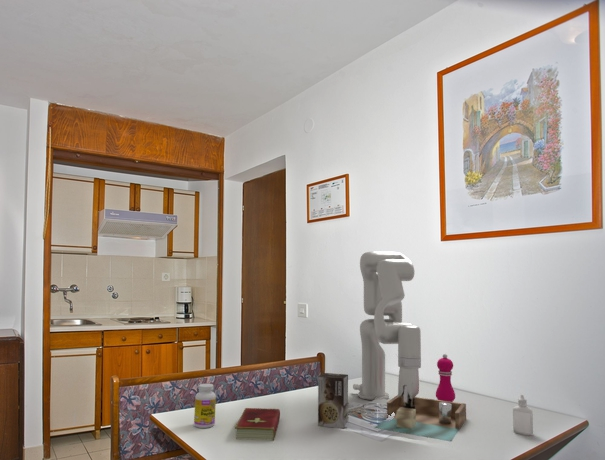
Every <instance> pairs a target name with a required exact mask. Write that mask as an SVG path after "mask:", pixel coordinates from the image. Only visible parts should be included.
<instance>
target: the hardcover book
mask: <svg viewBox="0 0 605 460" xmlns="http://www.w3.org/2000/svg"><path fill="white" fill-rule="evenodd" d="M280 419H281V409H280V408H266V407H265V408H261V407H260V408H259V407H256V408H255V407H245V408H244V410H243V412H242V413H241V416H240V417H239V419H238V421H237V422H236V425H235V426H234V429H235V439H236V440H252V441H253V440H257V441H258V440H259V441H262V440H263V441H275V439H276V435H277V431H278V427H279V422H280Z"/></svg>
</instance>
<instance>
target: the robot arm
mask: <svg viewBox="0 0 605 460" xmlns="http://www.w3.org/2000/svg"><path fill="white" fill-rule="evenodd" d="M412 262H413V261H411V260H410V259H409V258H408V257H407V256H405V255H404V254H403V253H401V252H397V251H367V252H364V253H363V254H361V257H360V259H359V269H360V270H359V271H360V274H361V276H362V281H363V309H364V310H363V311H364V313H365V314H366V315H368V316H373V318H367V319H364V320H363V321H361V323H360V325H359V335H360V340H361V341H360V343H361V384H358V383H354V384H352V389H353V390H354V391H355V390H356V391H359V392H358V393H357V396H358V397H359V398H360V399H363V400H367V401H368V400H369V401H374V400H376V399H381V400H388V399H389V398H390V395H389V393H387V392H386V354H385V350H384V348H383V347H382V345H380V344H383V345H397V351H398V352H397V359H398V360H397V362H398V363H397V366H398V367H399V372H398V387H397V388H398V389H397V395H398V397H399V398H401V397H402V396H403V395H404V408H411V409H415V397H417V395H418V394H419V393H420V375H419V373H420V372H419V369H421V368H422V350H421V349H422V348H421V347H422V345H421V344H422V343H421V335H422V334H421V328H420V326H418V325H414V324H413V323H410V322H403V304H402V303H403V302H402V301H403V300H404V299H405V294H406V293H405V290H404V286H403V282H410V281H412V280H414V277H415V268H414V265H413V263H412ZM385 316H387V317H388V318H385Z"/></svg>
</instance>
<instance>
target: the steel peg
mask: <svg viewBox="0 0 605 460" xmlns="http://www.w3.org/2000/svg"><path fill="white" fill-rule="evenodd" d="M451 406H452V404H451V403H447V402H439V422H440V423H444V424H451Z"/></svg>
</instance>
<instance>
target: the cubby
mask: <svg viewBox="0 0 605 460" xmlns="http://www.w3.org/2000/svg"><path fill="white" fill-rule="evenodd" d="M439 402H447V403H451V404H452V406H451V424H444V423H440V422H439ZM400 407H404V395H403V396H402V397H401V398H399V397H398V394H397V395H396V396H394V397H393V398H391V399H389V400H388V401H387V402H386V415H387V414H388V415H390V416H391V414H392V413H393V412H394V413H395V416H394V418H393V419H392V420H390V421H383V420H382V421H380V423H378V424H377V425H375V426H374V429H379V430H385V431H389V432H396V433H400V434H401V433H402V434H406V435H412V436H417V437H424V438H430V439H435V440H440V441H441V440H442V441H447V442H452V441H453V439H454V438H455V436H456V435H457V433H458V432H459V431H460V429H461V428H462V426H463V424H464V423H465V422H466V420H467V403H462V402H455V401H453V402H449V401H442V400H438V399H435V398H434V399H432V398H426V397H419V396H415V409H416V425H415V426H414V428H413V429H408V428H402V427H397V410H398V409H399V408H400Z"/></svg>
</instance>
